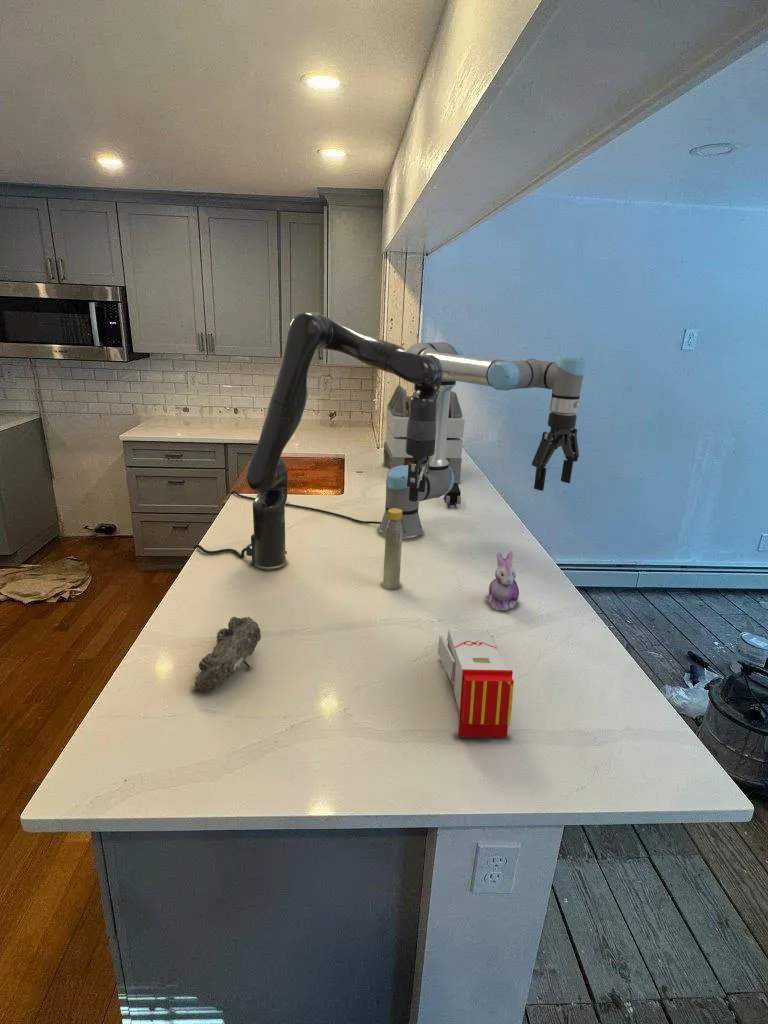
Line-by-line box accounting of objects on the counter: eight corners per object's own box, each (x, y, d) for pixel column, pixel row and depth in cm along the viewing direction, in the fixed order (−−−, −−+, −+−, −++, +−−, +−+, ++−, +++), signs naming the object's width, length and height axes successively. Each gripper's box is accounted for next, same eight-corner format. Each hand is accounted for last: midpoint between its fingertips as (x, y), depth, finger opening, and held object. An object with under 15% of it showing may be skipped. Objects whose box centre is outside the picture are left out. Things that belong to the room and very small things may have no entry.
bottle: (399, 589, 160) (403, 515, 153) (382, 588, 160) (386, 514, 153) (399, 582, 165) (403, 509, 157) (383, 581, 165) (386, 508, 157)
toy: (488, 613, 130) (523, 677, 101) (484, 667, 133) (517, 744, 104) (435, 612, 130) (455, 676, 101) (432, 666, 133) (451, 743, 103)
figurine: (500, 615, 149) (507, 563, 144) (477, 598, 157) (483, 548, 152) (528, 608, 153) (536, 557, 148) (504, 591, 161) (510, 543, 156)
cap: (402, 520, 154) (402, 513, 153) (387, 519, 154) (387, 512, 153) (402, 515, 157) (402, 508, 157) (387, 514, 157) (387, 507, 157)
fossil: (214, 619, 133) (260, 589, 128) (241, 647, 136) (288, 619, 131) (174, 686, 113) (226, 654, 108) (207, 716, 116) (260, 687, 111)
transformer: (382, 463, 289) (386, 382, 275) (445, 464, 293) (451, 384, 279) (390, 482, 257) (394, 392, 243) (460, 483, 261) (468, 394, 247)
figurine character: (461, 513, 227) (456, 497, 240) (463, 496, 223) (458, 481, 237) (444, 512, 226) (440, 496, 240) (446, 495, 223) (442, 480, 237)
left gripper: (413, 429, 152) (409, 487, 158) (399, 440, 139) (396, 502, 145) (441, 432, 150) (436, 490, 156) (429, 443, 137) (424, 506, 143)
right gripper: (548, 419, 148) (537, 496, 155) (598, 411, 163) (586, 482, 171) (525, 414, 153) (515, 489, 160) (575, 407, 169) (564, 476, 176)
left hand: (417, 496), depth 150 cm, fingers open, 8 cm apart
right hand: (552, 485), depth 166 cm, fingers open, 13 cm apart
